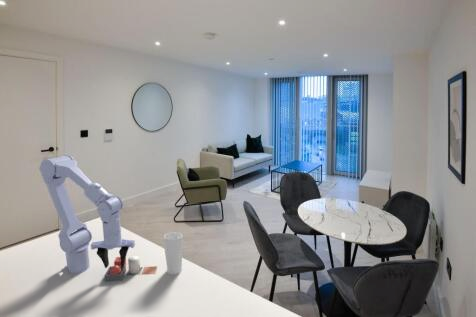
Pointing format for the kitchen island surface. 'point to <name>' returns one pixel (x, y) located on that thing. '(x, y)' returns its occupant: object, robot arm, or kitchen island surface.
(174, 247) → the drinking glass
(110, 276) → the pop dome base
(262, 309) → the kitchen island surface
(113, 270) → the pop dome
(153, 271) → the game board
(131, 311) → the kitchen island surface
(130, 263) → the ivory pawn
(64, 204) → the robot arm
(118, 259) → the red block with knob
